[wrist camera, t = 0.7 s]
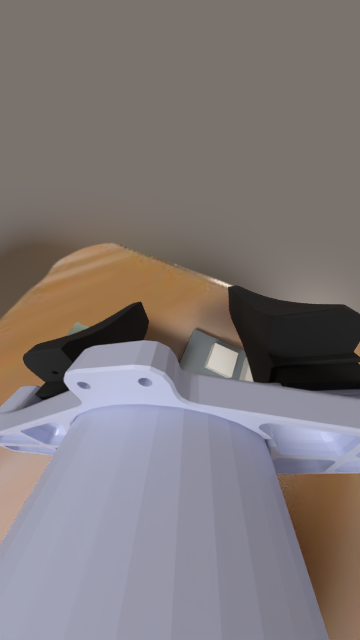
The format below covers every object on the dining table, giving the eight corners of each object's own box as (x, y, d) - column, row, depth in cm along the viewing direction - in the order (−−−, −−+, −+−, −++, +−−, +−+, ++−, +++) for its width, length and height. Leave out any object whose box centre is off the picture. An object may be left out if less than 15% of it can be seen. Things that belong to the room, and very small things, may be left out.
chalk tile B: (226, 377, 24) (231, 377, 22) (204, 367, 24) (207, 366, 23) (233, 355, 25) (238, 353, 24) (212, 345, 26) (215, 342, 24)
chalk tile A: (262, 391, 24) (270, 392, 22) (238, 380, 24) (244, 380, 22) (267, 367, 25) (275, 366, 23) (245, 357, 25) (251, 355, 24)
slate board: (274, 450, 22) (279, 453, 21) (165, 395, 23) (165, 396, 22) (286, 372, 26) (290, 372, 25) (193, 330, 28) (194, 328, 27)
